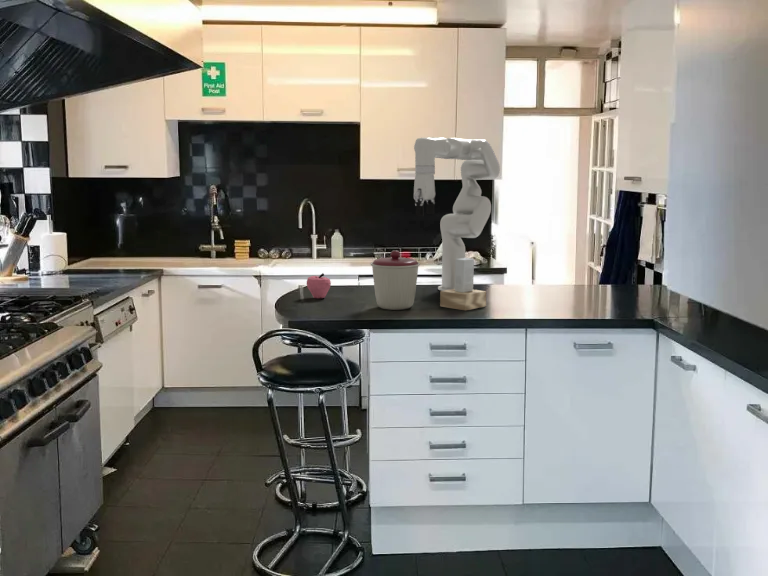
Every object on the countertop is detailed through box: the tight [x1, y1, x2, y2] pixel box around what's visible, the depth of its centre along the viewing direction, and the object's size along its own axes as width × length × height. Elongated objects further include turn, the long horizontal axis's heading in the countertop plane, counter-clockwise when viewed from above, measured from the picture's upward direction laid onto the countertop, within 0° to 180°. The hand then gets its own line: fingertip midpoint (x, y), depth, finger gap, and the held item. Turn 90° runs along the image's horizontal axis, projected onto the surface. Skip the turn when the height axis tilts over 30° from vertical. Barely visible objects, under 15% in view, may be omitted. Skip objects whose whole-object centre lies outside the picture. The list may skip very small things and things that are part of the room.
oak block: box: [439, 288, 487, 311], centre depth 302 cm, size 12×12×6 cm
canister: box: [369, 250, 421, 311], centre depth 297 cm, size 18×18×21 cm
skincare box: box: [455, 257, 475, 292], centre depth 300 cm, size 6×4×12 cm
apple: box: [306, 272, 332, 299], centre depth 319 cm, size 10×9×10 cm
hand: (425, 215), depth 316 cm, fingers open, 9 cm apart
